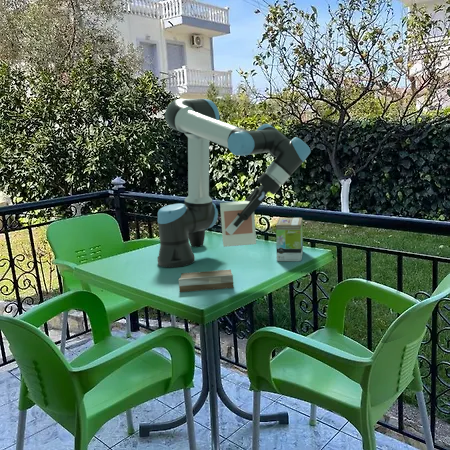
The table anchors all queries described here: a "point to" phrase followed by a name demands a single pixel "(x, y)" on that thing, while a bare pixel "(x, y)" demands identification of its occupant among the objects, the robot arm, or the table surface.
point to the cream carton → (244, 231)
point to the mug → (197, 238)
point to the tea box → (289, 239)
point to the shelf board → (206, 280)
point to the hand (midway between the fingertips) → (227, 230)
